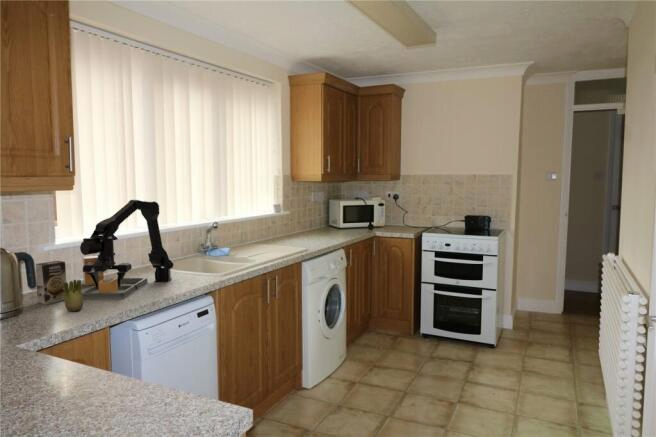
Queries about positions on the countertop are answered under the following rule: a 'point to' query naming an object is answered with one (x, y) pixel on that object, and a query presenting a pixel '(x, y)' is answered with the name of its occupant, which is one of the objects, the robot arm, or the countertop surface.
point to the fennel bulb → (73, 296)
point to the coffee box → (50, 281)
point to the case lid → (120, 294)
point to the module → (108, 285)
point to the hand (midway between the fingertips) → (108, 287)
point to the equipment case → (138, 281)
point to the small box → (87, 277)
